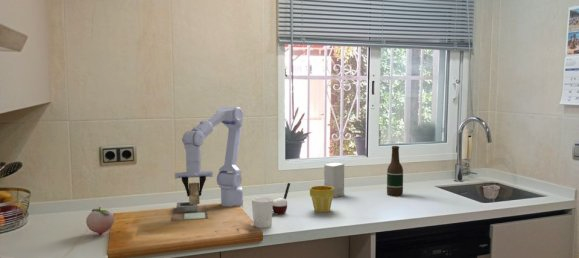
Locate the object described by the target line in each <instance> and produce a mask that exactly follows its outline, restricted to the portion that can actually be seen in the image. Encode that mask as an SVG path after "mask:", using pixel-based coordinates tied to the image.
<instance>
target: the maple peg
mask: <svg viewBox="0 0 579 258" xmlns="http://www.w3.org/2000/svg"><path fill="white" fill-rule="evenodd" d="M188 187H189V196H188V202H189V204H190V205H197V206H198V205H199V204H201V203H200V202H201V200H200V196H199V189H200V182H188Z"/></svg>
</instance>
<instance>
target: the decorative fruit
mask: <svg viewBox="0 0 579 258" xmlns="http://www.w3.org/2000/svg"><path fill="white" fill-rule="evenodd" d="M114 216H115V215H113V212H111V211H109V210H107V209H101V206H99V207H98V208H93V209H91V212H90V213H89V214H88V215H87V216H86V220H85V223H86V226H87V227H88V229H89V230H90V231H91V232H93V233H96V234H98V235H103V234H105V233H106V232H108V231H109V230H110V229H111V228H112V227H113V225H114V222H115V217H114Z"/></svg>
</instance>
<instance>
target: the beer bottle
mask: <svg viewBox="0 0 579 258" xmlns="http://www.w3.org/2000/svg"><path fill="white" fill-rule="evenodd" d="M403 194H404V168H403V165H402V164H401V162H400V146H399V145H392V146H391V158H390V163H389V165H388V167H387V170H386V195H387V196H390V197H396V198H397V197H398V198H399V197H402V196H403Z"/></svg>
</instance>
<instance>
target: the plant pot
mask: <svg viewBox="0 0 579 258" xmlns="http://www.w3.org/2000/svg"><path fill="white" fill-rule="evenodd" d="M333 196H334V188H333V187H331V186H324V185H314V186H311V187H309V197H311V201H312V205H313V208H314V212H317V213H328V212H330V211H331V207H332V201H333Z"/></svg>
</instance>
